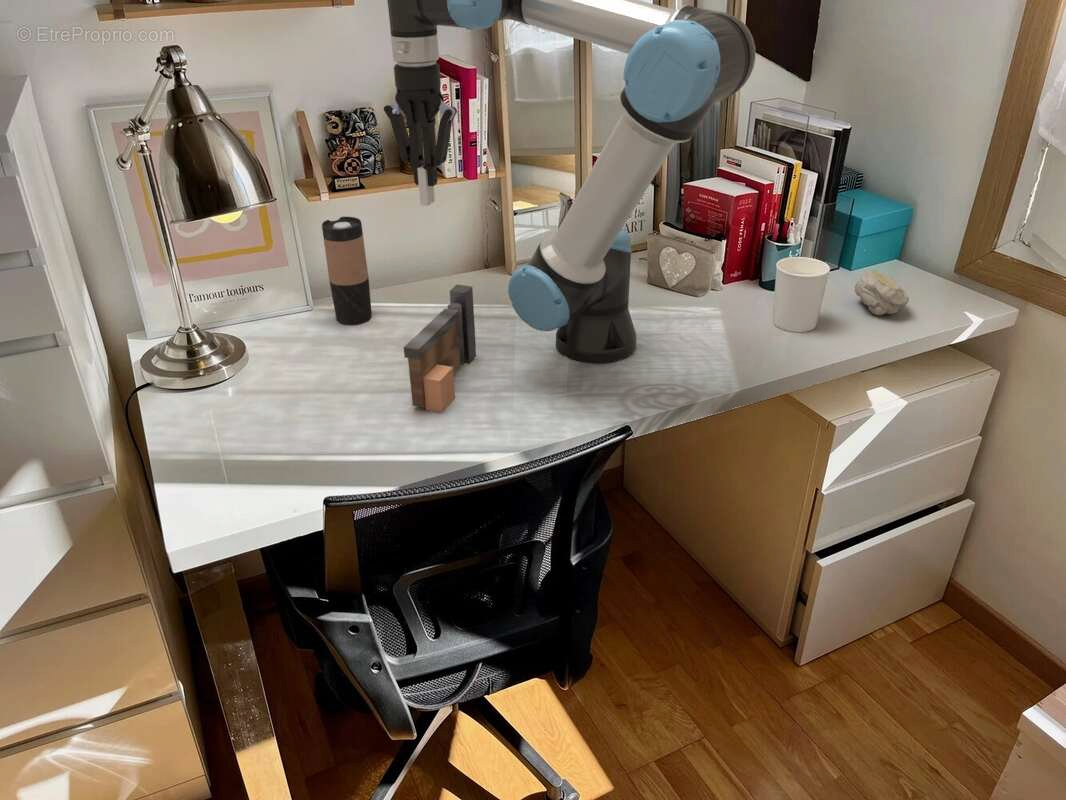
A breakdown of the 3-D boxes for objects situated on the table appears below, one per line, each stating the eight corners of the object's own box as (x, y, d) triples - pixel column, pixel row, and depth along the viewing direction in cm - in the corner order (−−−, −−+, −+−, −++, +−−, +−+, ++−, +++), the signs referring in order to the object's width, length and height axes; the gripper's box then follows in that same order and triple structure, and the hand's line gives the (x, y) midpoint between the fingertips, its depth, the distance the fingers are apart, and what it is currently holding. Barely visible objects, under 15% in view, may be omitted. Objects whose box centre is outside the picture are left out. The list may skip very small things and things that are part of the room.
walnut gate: (454, 358, 156) (450, 302, 150) (467, 360, 155) (464, 304, 149) (409, 406, 141) (403, 346, 136) (423, 409, 141) (418, 348, 135)
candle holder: (764, 329, 166) (772, 272, 160) (772, 310, 174) (780, 254, 168) (817, 337, 163) (827, 278, 157) (822, 317, 170) (832, 260, 164)
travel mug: (365, 327, 170) (352, 230, 160) (329, 324, 171) (314, 228, 161) (378, 311, 176) (367, 217, 166) (343, 308, 178) (330, 215, 167)
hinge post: (476, 356, 158) (472, 286, 151) (469, 364, 156) (465, 293, 149) (461, 354, 159) (456, 284, 152) (454, 361, 157) (449, 290, 150)
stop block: (455, 398, 145) (452, 367, 142) (442, 412, 141) (439, 381, 138) (439, 395, 146) (436, 364, 143) (426, 409, 142) (423, 378, 139)
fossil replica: (874, 295, 180) (838, 308, 176) (877, 257, 176) (840, 270, 172) (921, 312, 170) (884, 326, 166) (925, 273, 166) (887, 286, 163)
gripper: (370, 64, 139) (385, 205, 151) (442, 68, 135) (451, 213, 147) (392, 57, 145) (405, 193, 157) (462, 60, 141) (469, 200, 153)
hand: (427, 202), depth 152 cm, fingers closed
